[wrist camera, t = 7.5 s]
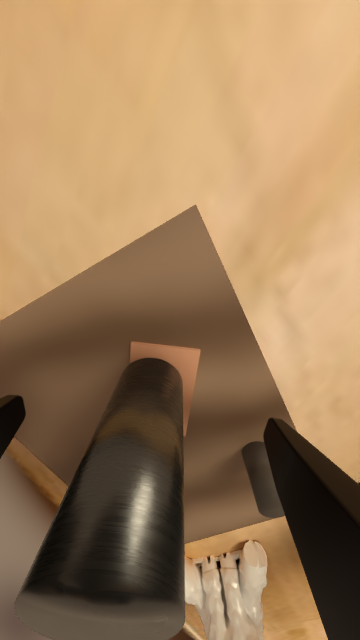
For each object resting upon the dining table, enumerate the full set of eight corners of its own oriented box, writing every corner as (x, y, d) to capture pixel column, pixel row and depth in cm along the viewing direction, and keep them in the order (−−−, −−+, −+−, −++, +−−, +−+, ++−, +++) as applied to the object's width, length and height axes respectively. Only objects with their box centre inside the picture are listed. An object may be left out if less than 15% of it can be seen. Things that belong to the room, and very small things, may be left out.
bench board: (315, 480, 16) (362, 563, 12) (146, 532, 19) (136, 614, 15) (193, 210, 10) (203, 183, 5) (-40, 348, 12) (-154, 401, 8)
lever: (165, 554, 17) (153, 782, 10) (121, 551, 16) (76, 779, 9) (193, 345, 10) (222, 583, 3) (120, 338, 10) (-32, 568, 3)
